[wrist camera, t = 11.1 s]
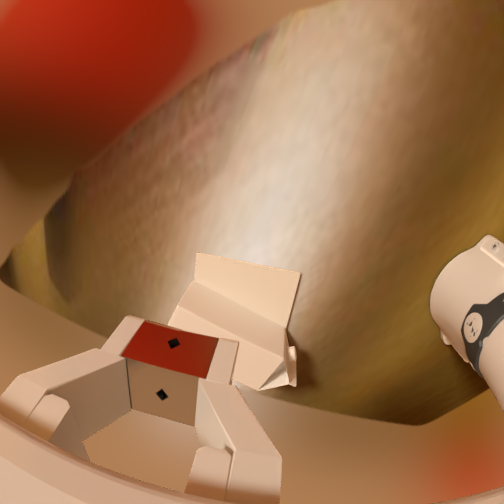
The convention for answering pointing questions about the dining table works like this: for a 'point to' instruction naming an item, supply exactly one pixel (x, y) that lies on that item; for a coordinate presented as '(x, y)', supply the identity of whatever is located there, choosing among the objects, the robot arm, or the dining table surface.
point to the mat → (250, 285)
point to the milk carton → (239, 336)
